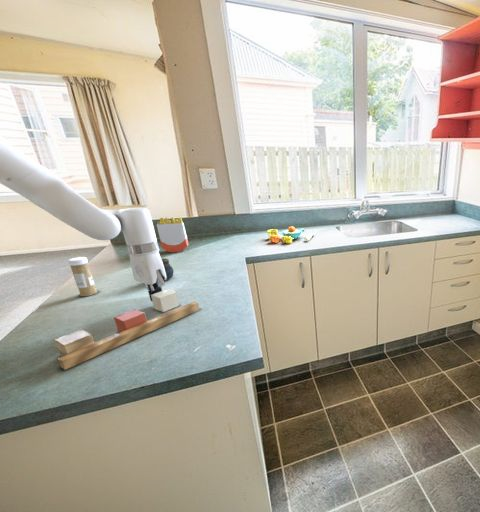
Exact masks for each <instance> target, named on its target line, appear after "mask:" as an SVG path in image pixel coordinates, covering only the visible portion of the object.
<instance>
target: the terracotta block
mask: <svg viewBox="0 0 480 512" xmlns="http://www.w3.org/2000/svg"><path fill="white" fill-rule="evenodd" d="M113 319H114V322H115V326H116V329H117V333H120V332H123V331H125V330H127V329H130V328H132V327H135V326H137V325H139V324H142V323H144V322H147V321H148V320H147V317H146V314H145V312H142V311H140V310H138V309H132V310H129V311H127V312H123V313H121V314H119V315H117V316H113Z"/></svg>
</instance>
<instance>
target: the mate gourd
mask: <svg viewBox="0 0 480 512" xmlns="http://www.w3.org/2000/svg"><path fill="white" fill-rule="evenodd" d="M161 259H162V262H163V265H164V268H165V272H166V280H165V281H169V280H171V279H172V278H173V277H174V268H173V267H172V265H171V264H170V261H169V258H165V257H164V258H161ZM165 281H164V282H165Z"/></svg>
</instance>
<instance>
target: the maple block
mask: <svg viewBox="0 0 480 512" xmlns="http://www.w3.org/2000/svg"><path fill="white" fill-rule="evenodd" d="M54 342H55V345H56V348H57V351H58V353H59V356H60V357H62V356H65V355H67V354H70V353H72V352H74V351H77V350H79V349H82V348H84V347H86V346H89V345H91V344H94V343H95V340H94V338H93V335H92V333H90V332H88V331H85V330H83V329H79V330H76V331H74V332H71V333H69V334H65V335H63V336H60V337H58V338H55V339H54Z"/></svg>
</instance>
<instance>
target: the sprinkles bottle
mask: <svg viewBox="0 0 480 512" xmlns="http://www.w3.org/2000/svg"><path fill="white" fill-rule="evenodd" d="M67 263H68V266H69V267H70V269H71V272H72V276H73V279H74V283H75V285H76V287H77V289H78V292H79V296H80V297H89V296H93V295H95V294H96V293H98V290H97V288H96V285H95V281H94V278H93V276H92V275H93V274H92V273H91V270H90V267H89V261H88V258H87V257H86V256H77V257H72V258H69V259H68V260H67Z"/></svg>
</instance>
